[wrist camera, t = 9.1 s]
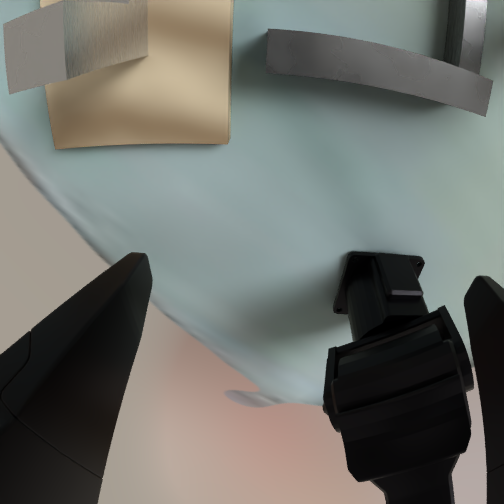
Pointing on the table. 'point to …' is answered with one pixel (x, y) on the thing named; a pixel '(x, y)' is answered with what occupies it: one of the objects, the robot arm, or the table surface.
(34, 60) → the brushed metal step block
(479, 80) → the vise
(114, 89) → the board
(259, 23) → the table surface
